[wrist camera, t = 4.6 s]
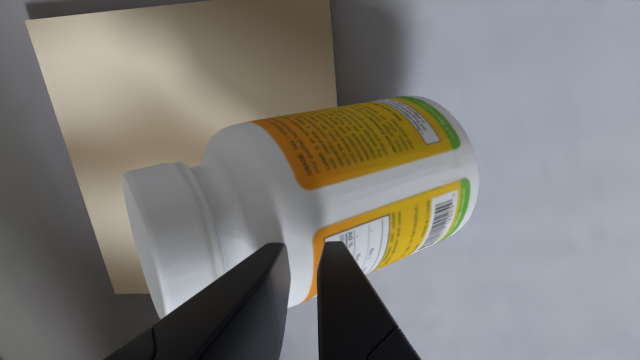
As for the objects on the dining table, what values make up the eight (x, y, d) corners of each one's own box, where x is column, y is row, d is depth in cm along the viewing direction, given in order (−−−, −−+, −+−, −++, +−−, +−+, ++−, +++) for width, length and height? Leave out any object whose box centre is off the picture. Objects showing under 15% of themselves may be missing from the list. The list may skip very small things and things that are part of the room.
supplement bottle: (361, 113, 17) (109, 158, 12) (463, 73, 12) (121, 120, 7) (390, 235, 17) (154, 328, 12) (501, 241, 13) (193, 395, 8)
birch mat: (350, 284, 19) (350, 291, 19) (121, 286, 21) (114, 294, 20) (328, -12, 15) (327, -13, 14) (36, 20, 16) (24, 20, 16)
